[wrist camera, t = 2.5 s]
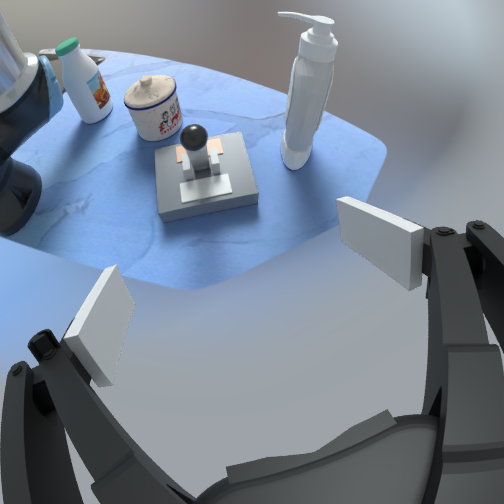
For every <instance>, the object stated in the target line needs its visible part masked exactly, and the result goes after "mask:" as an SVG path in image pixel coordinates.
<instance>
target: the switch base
mask: <svg viewBox="0 0 504 504" xmlns="http://www.w3.org/2000/svg"><path fill="white" fill-rule="evenodd" d="M206 144H207V150H208V157H209V163H210V169H206V170H201V171H196V172H194V170H193V168H192V165H191V163H190V160H189V158H188V155H187V153H186V150H185V148H184V147H183V146H182V145H181V143H178V144H174V145H170V146H166V147H162V148H158V149H155V170H156V188H157V203H158V214H159V216H160V217H161V219H162V221H163V222H164V223H166V222H171V221H175V220H180V219H184V218H189V217H193V216H198V215H203V214H207V213H212V212H217V211H222V210H227V209H232V208H237V207H242V206H248V205H253V204H258V195H259V193H258V189H257V185H256V182H255V178H254V175H253V171H252V168H251V164H250V161H249V158H248V154H247V151H246V147H245V144H244V140H243V137H242V134H241V132H235V133H229V134H223V135H217V136H212V137H208V141H207V143H206Z"/></svg>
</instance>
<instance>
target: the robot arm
mask: <svg viewBox="0 0 504 504" xmlns="http://www.w3.org/2000/svg"><path fill="white" fill-rule="evenodd" d="M62 107H63V95H62V92H61V89H60V86H59V83H58V81H57V79H56V76H55V73H54V71H53V68H52V66H51V64H50V62H49V60H48V59H47V57H46V56H44V55H43V56H40V57H36V56H35V55H34V54H32V53H22V51H21V49H20V47H19V45H18V44H17V42H16V40H15V38H14V36H13V34H12V32H11V30H10V28H9V26H8V24H7V22H6V20H5V18H4V16H3V14H2V12H1V10H0V234H1V235H3V236H9V235H12V234H14V233H16V232H17V231H18V230H19V229H20V228H22V227H23V225H24V224H25V223H26V222H27V221H28V219H29V218H30V216H31V215H32V213H33V211H34V209H35V207H36V205H37V203H38V200H39V197H40V193H41V187H42V182H41V177H40V175H39V174H38V173H37V172H36V171H35V169H34V168H32V167H31V166H28V165H26V164H24V163H21V162H19V161H16V160H14V159H12V158H11V157H10V156H11V155H12V154H13V153H14V152H15V151H16V150H17V149H18V148H19V147H20V146H21V145H22V144H23V143H24V142H25V141H27V140H28V139H29V138H30V137H31V136H32V135H33V134H34V133H36V132H37V131H38V130H39V129H40V128H41V127H43V126H44V125H45V124H46V123H48V122H49V121H50V120H51V118H52V117H54V116H55V115H56V114H57V113H58V112H59V111H60V110H61V109H62ZM336 203H337V210H338V217H339V225H340V233H341V241H342V242H343V243H344V244H345V245H347V246H348V247H350V248H351V249H353V250H354V251H355V252H357V253H358V254H360V255H361V256H362V257H364V258H365V259H366V260H368V261H369V262H371V263H372V264H373V265H375V266H376V267H378V268H379V269H380V270H382V271H383V272H384V273H386V274H387V275H388V276H390V277H391V278H393V279H394V280H395V281H396V282H398V283H399V284H400V285H402V286H403V287H404V288H406V289H407V290H408V291H411V290H413V289H415V288H417V287H419V286H421V283H422V273H423V274H425V275H426V276H428V281H427V291H426V299H428V315H429V316H428V320H429V324H428V325H429V326H428V327H429V328H428V329H429V332H428V333H429V334H428V336H429V337H428V361H427V362H428V363H427V376H426V386H425V387H426V388H425V396H424V404H423V409H422V413H421V414H420V415H419V414H414V415H404V416H398V417H394V418H393V417H392V415H391V414H390V413H389V411H388V410H385V411H383V412H381V413H379V414H377V415H376V416H373V417H371V418H369V419H367V420H365V421H363V422H361V423H359V424H357V425H355V426H353V427H351V428H349V429H348V430H347V431H345V432H344V433H342V434H341V435H340V436H338V437H337V438H335V439H334V440H333V441H331V442H329V443H328V444H327V445H325V446H323V447H322V448H320V449H319V450H317V451H315V452H312V453H307V454H299V455H289V456H278V457H266V458H262V459H258V460H255V461H250V462H246V463H242V464H237V465H233V466H228V467H226V470H227V475H228V477H226V478H224V479H222V480H220V481H218V482H217V483H215V484H213V485H212V486H210V487H209V488H207V489H206V490H205V491H204V492H203V493H202V494H200V495H199V497H197V499H196V498H195V497H193V496H192V495H191V494H189V493H188V492H186V491H185V490H184V489H183V488H182V487H181V486H179V485H178V484H177V483H176V482H175V481H174V480H172V478H170V477H169V476H168V475H167V474H166V473H165V472H164V471H163V470H162V469H161V468H160V467H159V466H158V465H157V464H156V463H155V462H154V461H153V460H152V459H151V458H150V457H149V456H148V455H147V454H146V453H145V452H144V451H143V450H142V449H141V448H140V447H139V446H138V444H136V442H135V441H134V440H133V439H132V438H131V437H130V436H129V434H128V433H127V432H126V431H125V430H124V429H123V427H122V426H121V425H120V424H119V423H118V421H117V420H116V419H115V418H114V416H113V415H112V414H111V413H110V411H109V410H108V409H107V407H106V406H105V405H104V404H103V402H102V401H101V399H100V398H99V397H98V396H97V394H96V393H95V391H94V390H93V389H92V387H91V386H90V385H89V384H90V381H91V378H92V379H93V381H94V382H95V383H96V385H97V386H98V387H106V386H112V385H113V383H114V379H115V375H116V371H117V367H118V363H119V358H120V355H121V351H122V348H123V344H124V341H125V337H126V333H127V330H128V327H129V324H130V320H131V317H132V314H133V311H134V307H135V303H134V301H133V299H132V297H131V295H130V293H129V291H128V289H127V287H126V284H125V282H124V280H123V278H122V276H121V273H120V271H119V269H118V267H117V265H114V266H111V267H108V268H105V270H104V271H103V273H102V274H101V276H100V278H99V279H98V281H97V282H96V284H95V285H94V287H93V289H92V290H91V292H90V293H89V295H88V297H87V298H86V300H85V302H84V303H83V305H82V307H81V309H80V310H79V312H78V313H77V315H76V317H75V318H74V319H73V320H72V321H71V323H70V325H69V327H68V328H67V330H66V333H65V334H64V336H63V337H62V339H61V341H60V343H59V342H58V341H57V339H56V338H55V336H54V335H53V333H52V331H51V330H49V329H45V330H42V331H40V332H38V333H37V334H36V335H34V336H33V337H32V338H31V340H30V341H29V343H28V348H29V350H30V351H31V353H32V354H33V355H34V357H35V358H36V360H37V361H38V362H39V366H36V367H35V368H32V369H31V368H30V367H29V365H28V364H27V363H26V362H25V361H21V362H18V363H17V364H14V365H13V366H12V367H11V369H10V371H9V372H8V375H7V380H6V387H5V393H4V402H3V410H2V422H1V442H0V463H1V482H2V493H3V501H4V504H84V503H83V500H82V497H81V494H80V491H79V488H78V484H77V481H76V478H75V474H74V471H73V467H72V463H71V458H70V454H69V449H68V445H67V440H66V434H65V429H66V431H67V433H68V435H69V437H70V439H71V441H72V443H73V445H74V447H75V448H76V450H77V452H78V454H79V455H80V457H81V459H82V461H83V462H84V464H85V466H86V468H87V469H88V471H89V472H90V474H91V475H92V477H93V479H94V481H95V482H94V483H93V484H92V485H91V489H92V491H93V493H94V495H95V496H96V498H97V499H98V501H99V502H100V504H504V372H503V365H502V359H501V353H500V349H499V346H498V345H496V344H489V341H488V336H487V331H486V326H485V321H484V316H483V313H484V315H485V317H486V319H487V320H488V322H489V324H490V326H491V328H492V330H493V332H494V334H495V336H496V338H497V340H498V342H499V344H500V347H501V349H502V351H503V353H504V238H503V237H502V236H501V235H500V234H499V233H498V232H497V231H495V230H494V229H493V228H492V227H491V226H490V225H488V224H487V223H484V222H482V221H478V220H476V221H471V222H468V223H467V225H466V233H463V234H457V232H456V231H455V230H454V229H452V228H448V227H436V228H433V229H432V230H430V229H427V228H426V227H423V226H421V225H419V224H416V223H414V222H411V221H409V220H407V219H405V218H401V217H398V216H396V215H393V214H391V213H389V212H386V211H384V210H381V209H379V208H376V207H374V206H371V205H369V204H366V203H364V202H361V201H358V200H356V199H353V198H350V197H348V196H346V197H342V198H338V199H336ZM482 311H483V312H482ZM64 427H65V429H64Z"/></svg>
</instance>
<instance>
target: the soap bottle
mask: <svg viewBox="0 0 504 504" xmlns="http://www.w3.org/2000/svg"><path fill="white" fill-rule="evenodd" d="M278 16H284V17H293V18H296V19H299V20H302V21H305V22H307V23H310V24H313V28H311V29H309V30H308V32H305V33H302V35H301V39H300V45H299V53H298V57H296V58H295V61H294V64H293V67H292V73H291V80H290V86H289V93H288V99H287V106H286V112H285V124H286V129H285V131H284V133H283V136H282V140H281V154H282V158H283V162H284V164H285V165H286V166H287V167H288V168H289V169H291V170H298V169H299V168H301V167H303V165H304V164H305V162H306V161H307V160H308V158H309V155H310V152H311V149H312V145H313V136H314V134H315V132H316V131H317V130H318V128H319V126H320V123H321V120H322V116H323V112H324V109H325V105H326V102H327V99H328V96H329V92H330V89H331V86H332V82H333V75H334V67H333V61H334V58H335V54H336V50H337V46H338V42H337V40H336V39H334V36H333V34H332V33H330V32H331V27H332V24H334V21H333V20H332V19H330V18H327V17H324V16H308V15H304V14H300V13H294V12H278Z"/></svg>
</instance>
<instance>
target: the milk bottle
mask: <svg viewBox="0 0 504 504" xmlns="http://www.w3.org/2000/svg"><path fill="white" fill-rule="evenodd" d="M79 47H80V45H79V42H78V39H77V38H75V37H74V38H70V39H68V40H66V41H64V42H63V43H61V44H60V45H59V46H58V47H57V48H56V50H55V52H56V54H57V56H58V58H59V59H61V63H62V81H63V85H64V87H65V89H66V91H67V93H68V95H69V97H70V99H71V101H72V103H73V104H74V106H75V108H76V110H77V111H78V113H79V115H80V117H81V118H82V120H83V121H84V122H85V123H88V124H92V123H96V122H98V121H100V120H102V119H103V118H105V117H106V116H107V115H108V114H109V113H110V112H111V110H112V108H113V102H112V99H111V97H110V94H109V92H108V90H107V88H106V85H105V83H104V81H103V78H102V76H101V74H100V72H99V70H98V67H97V65H96V64H95V62H94V61H93V60H92V59H91V58H90V57H88V56H87V55H85V54H84V53H83V52H82V51H81V49H80V48H79Z"/></svg>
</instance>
